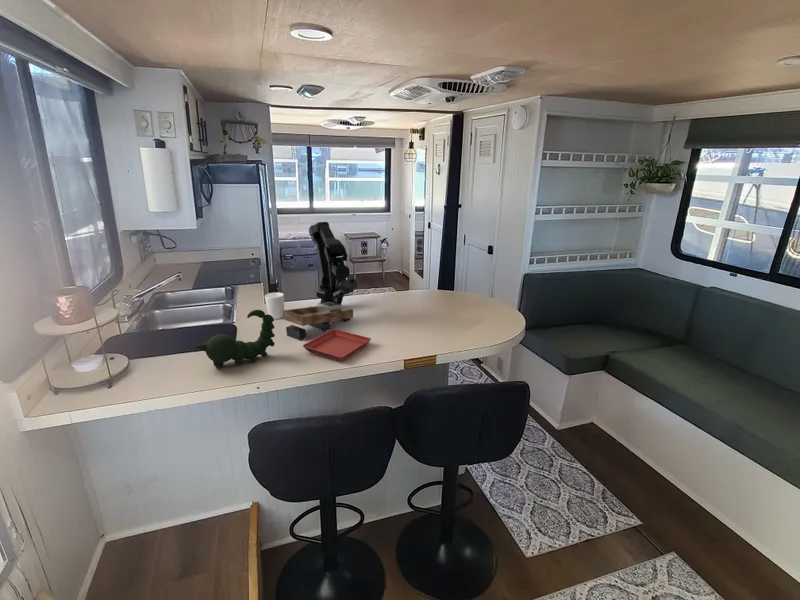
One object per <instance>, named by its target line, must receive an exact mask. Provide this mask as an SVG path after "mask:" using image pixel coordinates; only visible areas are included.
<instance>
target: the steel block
mask: <svg viewBox="0 0 800 600" xmlns="http://www.w3.org/2000/svg"><path fill="white" fill-rule="evenodd" d="M317 306H318V307H317V313H327V312H335V311H342V308H343V307H342V306H343V305H342V303H341V304H337V303H334V302H322V303H321V302H318V303H317Z"/></svg>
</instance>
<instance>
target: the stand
mask: <svg viewBox="0 0 800 600" xmlns="http://www.w3.org/2000/svg"><path fill="white" fill-rule="evenodd" d="M350 320H351V318H348V319H342V320H339V321H341V322H343V323H346V322H348V321H350ZM331 323H332V322H331ZM331 323H327V322H323V323H317V324H311V325H308V326H309V327H311V326H312V328H314V327H315V329H317V328H318V329H317V330H320V329H321V330H320V331H323V332H328V331H331V330H332V325H331ZM285 329H286V336H287V337H290V338H292V339H295V340H297V339H298V340H297V341H302V339H303V340H305V339H307V331H306V329H305V328H303V327H299V326H297V325H294V324H291V325H288V326H286V328H285ZM327 330H328V331H327ZM304 338H305V339H304Z"/></svg>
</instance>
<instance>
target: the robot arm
mask: <svg viewBox="0 0 800 600" xmlns="http://www.w3.org/2000/svg"><path fill="white" fill-rule="evenodd" d="M308 233H309V236H310V238H311V239H310V240H311V241H312V242H313V244H315V247H316V252H317V257H318V263H319V269H320V274H321V277H320V279H319V282H318V283H319V285H318V287H317V291H316V298H319V299H320V303H322V302H334V303H337V304H341V305H342V302H343V299H344V296H345V295H349V294H350V293H354V290H355V289H357V288H358V282H357V279H355V278H351V279H347V278H348V277H349V276H350V273H351V270H350V268H349V266H347V265H346V264H345V261H346V262H347V261H348V254H347V249H346V247H345V245H344V244H343V243H342V241H340V240H339V239H337V238H336V237H335V236H334V234H333V231H332V230H331V227H330V224H329V222H328V221H318V222H316V223H315V224H312V225H310V227H309V228H308Z"/></svg>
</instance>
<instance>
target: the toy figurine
mask: <svg viewBox="0 0 800 600" xmlns="http://www.w3.org/2000/svg"><path fill="white" fill-rule="evenodd" d="M246 316H247V319H250V318H252V317H258V318H260V319H262V322H261V330H260V332H259V336H258V338H257V340H255V341H246V342H245V341H243V340H235V339H234V338H233V337H231V336H230V335H229V334H228V335H227V334H225V333H219V334H218V333H217V334H215V335H213V336H212V337H210V338H209V339H208V340H207V341H206V342H204V343H198V344H195V345H194V348H196V349H197V350H201V351H203V352H204V353H205V354H206V356H207V358H208V359H209V360H211V361H212V363H213V366H214V368H215V367H216V368H219V367H220V368H222V367H223V366H224V363H226V362H229V361H230V360H232V361H234V364H235V365H237V366H239V365H242V364H243V362H244V361H243V360H248V361H249V363H250V364H252V363H253V364H254V363H255V362H256V358H258V356H261V357H262V358H266V357H267V356H268V352H267V348H268V347H269V346H270V347H274V346H275V342H274V339H272V338H275V335H276V334H275V333H274V331H273V329H275V325H274V323H273V322H274V321H275V319H274V318H273V317H272V316H271V315H269V314H268V313H267V314H266V313H265V311H264V310H262V309H253V310H252V311H249V313H248V314H247V315H246ZM220 368H219V369H220Z"/></svg>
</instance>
